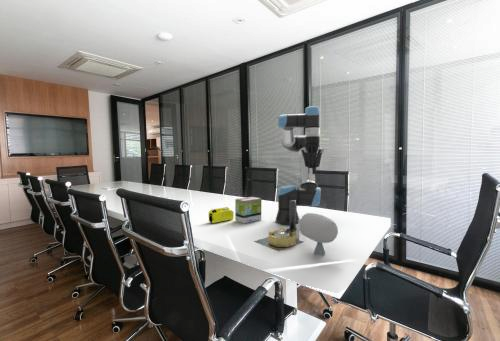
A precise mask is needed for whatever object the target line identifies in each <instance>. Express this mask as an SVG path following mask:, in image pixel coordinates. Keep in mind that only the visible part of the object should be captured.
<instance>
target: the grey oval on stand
mask: <svg viewBox="0 0 500 341" xmlns="http://www.w3.org/2000/svg"><path fill="white" fill-rule="evenodd" d="M298 228H299V229H298V230H299V233H301V235H303V236H304V237H306V238H308V239H310V240H312V241H314V242H316V245H315V248H314V251H313V254H314V255H317V256H325V255H326V251H325V247H324V245H323V244H327V243H332V242H333V241H335V240H336V238H337V236H338V233H339V229H338V225H337V223H335V221H334V220H332V218H329V217H327V216H325V215H322V214H319V213H315V212H314V213H313V212H311V213H310V212H307V213H305V214H303V215H302V216H301V218H299V220H298Z"/></svg>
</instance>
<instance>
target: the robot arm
mask: <svg viewBox="0 0 500 341" xmlns="http://www.w3.org/2000/svg"><path fill="white" fill-rule="evenodd" d="M320 115H321V112H320V107H319V106H314V105H313V106H307V107H306V108H305V109H304V113H295V114H292V113H291V114H289V113H288V114H278V118H277V120H278V121H277V123H278V124H277V125H278V127H279V129H281V130H282V131H281V132H282V137H281V139H280V141H281V145H282V147H283V148H284V149H285V150H288V151H289V152H293V153H296V152H297V153H298V155H299V156H300V159H301V160H300V162H301V184H299V187H298V186H297V185H295V184H294V185H293V184H289V185H283V186H281V187H279V188H278V190H277V192H278V194H277V196H278V197H277V198H278V202H277V204H278V210H277V213H276V216H275V223H276V224H280V225H285V226H290V200H296V225H297V224H298V225H299V223H298V220H300V217H299V213H298V210H297V209H298V208H297V207H318V206H320V203H321V197H322V196H321V194H322V188H321V187H319V185H318V183H317V182H316V174H317V168H319V167H320V165H321V161H322V154H323V152H324V149H323V148H321V146H320V134H321V133H320V132H321V130H320V128H321V127H320V121H321V120H320V119H321V118H320V117H321V116H320ZM295 128H304V135H295Z"/></svg>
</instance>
